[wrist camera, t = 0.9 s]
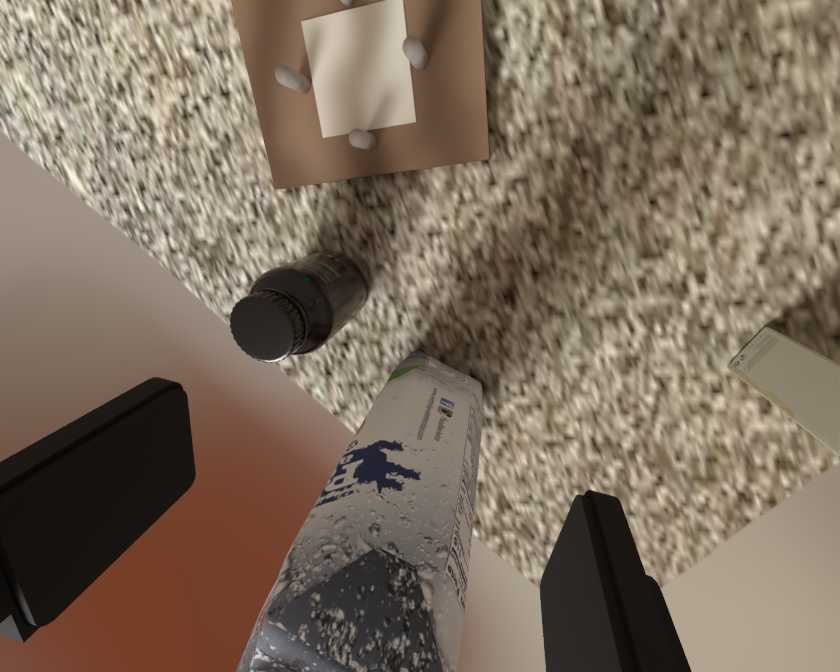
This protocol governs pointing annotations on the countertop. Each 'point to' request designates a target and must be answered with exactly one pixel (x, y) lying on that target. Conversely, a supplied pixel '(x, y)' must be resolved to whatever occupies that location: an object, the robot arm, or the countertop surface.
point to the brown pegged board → (365, 85)
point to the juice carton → (384, 539)
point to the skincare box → (794, 382)
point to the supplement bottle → (298, 306)
